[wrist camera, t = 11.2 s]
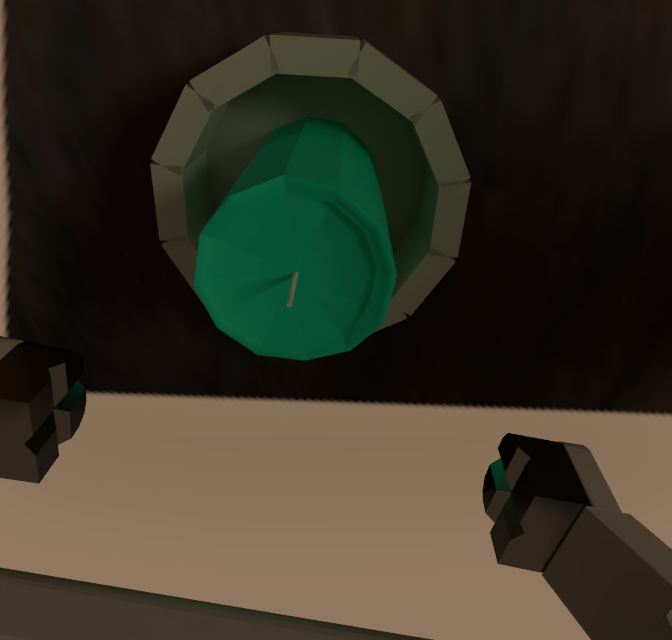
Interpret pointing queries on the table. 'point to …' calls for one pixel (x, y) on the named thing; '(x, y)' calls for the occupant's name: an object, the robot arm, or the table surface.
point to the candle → (300, 246)
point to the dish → (329, 104)
